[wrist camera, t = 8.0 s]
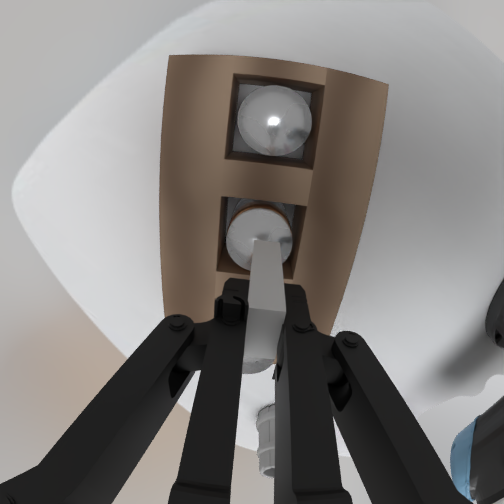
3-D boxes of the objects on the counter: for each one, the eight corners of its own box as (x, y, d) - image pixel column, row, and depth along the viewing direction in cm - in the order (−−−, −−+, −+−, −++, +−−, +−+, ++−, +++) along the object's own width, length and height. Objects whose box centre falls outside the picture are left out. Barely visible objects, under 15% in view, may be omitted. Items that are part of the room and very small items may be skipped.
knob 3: (278, 296, 24) (280, 336, 19) (270, 335, 26) (271, 376, 21) (224, 290, 24) (216, 330, 19) (221, 330, 26) (214, 370, 21)
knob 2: (291, 195, 23) (298, 215, 18) (282, 245, 24) (287, 275, 20) (235, 188, 22) (228, 206, 18) (230, 240, 24) (223, 268, 20)
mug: (267, 398, 35) (266, 476, 24) (340, 408, 36) (353, 477, 26) (249, 422, 38) (245, 490, 27) (316, 431, 40) (322, 493, 29)
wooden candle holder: (363, 90, 19) (388, 84, 14) (311, 331, 29) (317, 366, 25) (188, 67, 18) (169, 55, 14) (180, 317, 29) (168, 350, 25)
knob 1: (304, 97, 19) (316, 90, 15) (297, 152, 21) (307, 161, 16) (245, 89, 19) (240, 80, 14) (239, 145, 21) (232, 152, 16)
